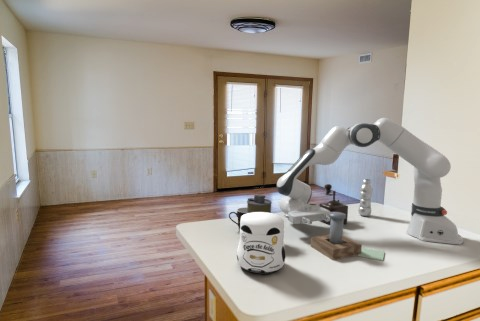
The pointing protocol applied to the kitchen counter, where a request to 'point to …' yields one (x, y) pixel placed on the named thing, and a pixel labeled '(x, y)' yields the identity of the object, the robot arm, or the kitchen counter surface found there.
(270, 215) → the dulce de leche jar
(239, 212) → the coffee mug
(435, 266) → the kitchen counter surface
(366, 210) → the plastic bottle
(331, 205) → the brown coffee grinder
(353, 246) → the socket block
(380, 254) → the mat
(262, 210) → the canister
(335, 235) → the grey capped peg
